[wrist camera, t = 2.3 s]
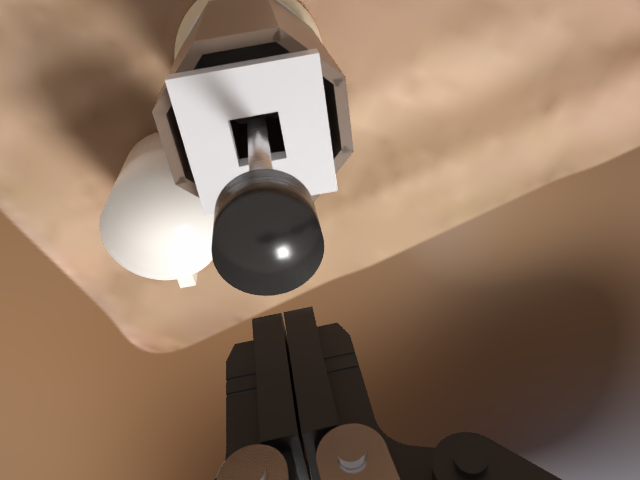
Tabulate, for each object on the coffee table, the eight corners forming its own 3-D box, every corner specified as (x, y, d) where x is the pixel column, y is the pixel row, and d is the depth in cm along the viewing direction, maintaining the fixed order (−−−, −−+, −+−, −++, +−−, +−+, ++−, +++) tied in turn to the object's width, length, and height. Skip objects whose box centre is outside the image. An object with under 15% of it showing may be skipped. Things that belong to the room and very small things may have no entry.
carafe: (312, -33, 36) (358, -3, 22) (334, 138, 43) (380, 242, 29) (155, -6, 36) (103, 41, 22) (202, 162, 43) (186, 279, 29)
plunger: (278, 60, 30) (315, 190, 16) (288, 119, 32) (330, 284, 18) (217, 71, 30) (198, 212, 16) (231, 129, 32) (226, 304, 18)
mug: (211, 122, 41) (205, 167, 33) (239, 229, 46) (239, 289, 39) (110, 140, 41) (80, 190, 33) (149, 246, 46) (132, 310, 38)
